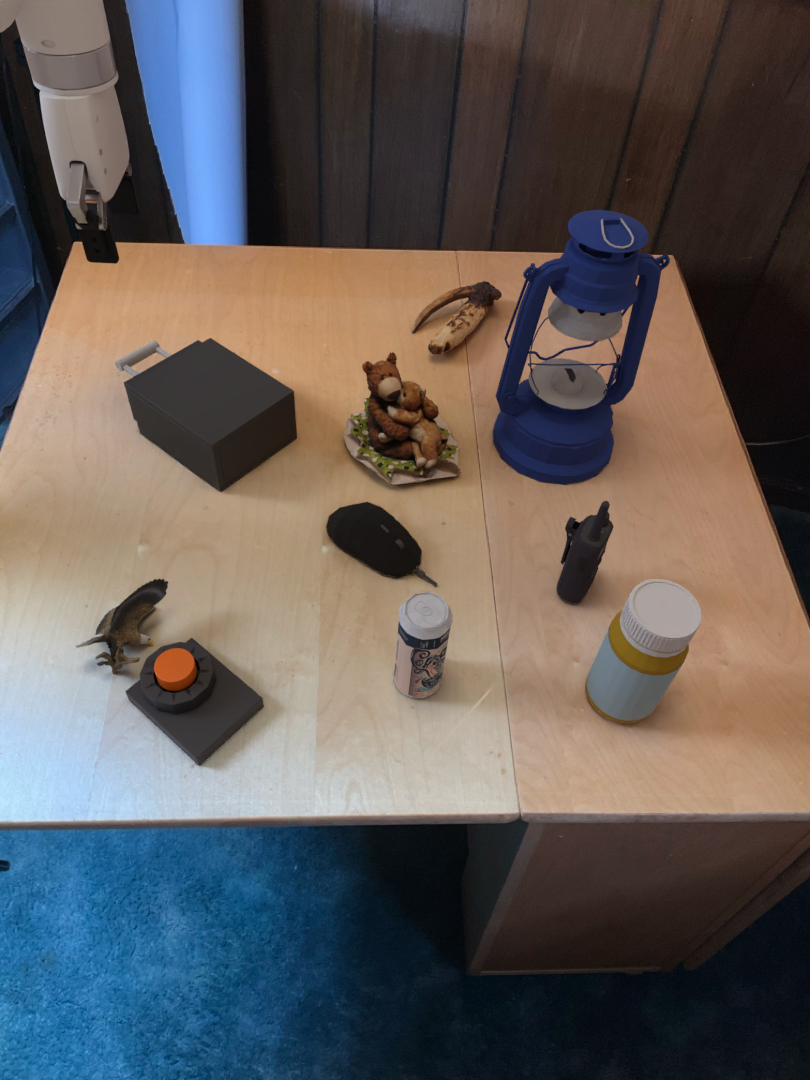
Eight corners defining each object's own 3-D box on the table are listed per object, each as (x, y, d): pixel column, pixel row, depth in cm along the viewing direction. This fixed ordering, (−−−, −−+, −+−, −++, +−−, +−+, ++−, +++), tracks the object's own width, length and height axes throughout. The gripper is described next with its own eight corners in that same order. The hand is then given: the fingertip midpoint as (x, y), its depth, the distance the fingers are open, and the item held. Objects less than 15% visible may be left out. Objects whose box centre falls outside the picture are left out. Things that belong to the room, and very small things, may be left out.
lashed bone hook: (451, 290, 123) (392, 348, 113) (454, 261, 120) (393, 318, 109) (507, 308, 120) (451, 369, 110) (511, 279, 117) (454, 340, 106)
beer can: (418, 710, 77) (428, 643, 68) (382, 679, 79) (387, 610, 70) (451, 678, 80) (465, 609, 70) (415, 649, 81) (424, 578, 72)
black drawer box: (139, 433, 99) (126, 385, 93) (217, 385, 106) (210, 337, 100) (220, 492, 94) (211, 445, 88) (297, 438, 100) (294, 390, 94)
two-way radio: (578, 612, 86) (614, 519, 74) (540, 594, 87) (569, 500, 75) (596, 576, 89) (633, 482, 77) (559, 559, 90) (590, 464, 78)
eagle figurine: (170, 674, 77) (189, 589, 81) (112, 649, 72) (135, 559, 76) (115, 684, 80) (135, 602, 85) (56, 659, 75) (81, 573, 79)
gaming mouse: (418, 604, 85) (421, 582, 82) (315, 533, 90) (314, 509, 87) (454, 568, 88) (458, 546, 85) (352, 502, 94) (352, 478, 91)
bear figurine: (375, 504, 94) (378, 426, 84) (329, 422, 102) (328, 343, 93) (479, 474, 98) (493, 396, 88) (427, 397, 106) (434, 319, 97)
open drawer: (103, 397, 101) (92, 360, 97) (174, 356, 107) (167, 319, 103) (207, 472, 94) (200, 436, 90) (277, 424, 100) (274, 388, 96)
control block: (126, 698, 76) (118, 680, 74) (192, 644, 80) (187, 625, 78) (199, 766, 72) (193, 749, 70) (264, 706, 77) (261, 688, 74)
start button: (149, 675, 74) (145, 665, 73) (179, 650, 76) (176, 640, 75) (174, 698, 73) (171, 689, 72) (205, 672, 75) (202, 663, 74)
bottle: (612, 651, 83) (656, 561, 71) (668, 697, 80) (723, 611, 68) (569, 690, 79) (607, 603, 68) (625, 740, 76) (675, 658, 65)
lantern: (504, 491, 96) (553, 266, 73) (471, 407, 105) (506, 184, 82) (637, 475, 99) (725, 254, 76) (594, 395, 108) (661, 176, 85)
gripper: (56, 24, 78) (99, 194, 92) (-1, 100, 68) (56, 280, 81) (134, 29, 79) (165, 197, 92) (89, 105, 68) (132, 284, 81)
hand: (114, 236), depth 86 cm, fingers open, 9 cm apart
